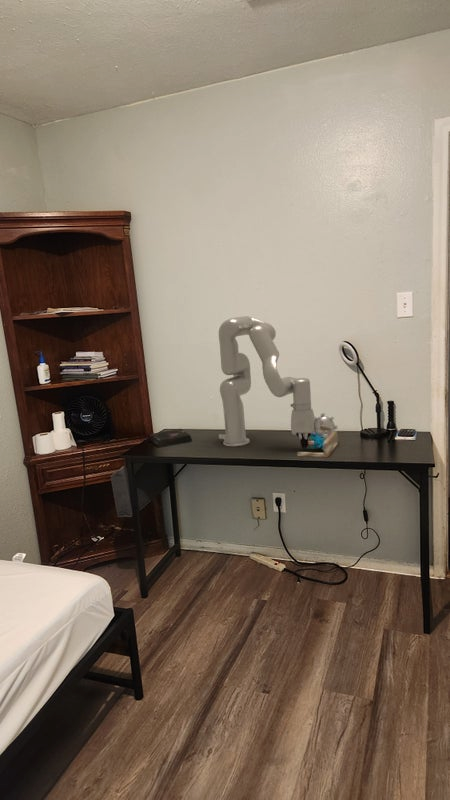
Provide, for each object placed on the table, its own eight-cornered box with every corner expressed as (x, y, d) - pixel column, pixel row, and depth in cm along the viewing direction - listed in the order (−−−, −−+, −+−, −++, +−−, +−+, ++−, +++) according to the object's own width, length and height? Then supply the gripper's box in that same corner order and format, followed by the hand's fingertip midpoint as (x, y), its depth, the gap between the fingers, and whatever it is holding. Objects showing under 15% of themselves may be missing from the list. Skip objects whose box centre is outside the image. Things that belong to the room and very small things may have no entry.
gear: (310, 442, 237) (308, 414, 235) (311, 440, 240) (310, 413, 238) (337, 443, 232) (335, 414, 230) (338, 441, 235) (337, 413, 233)
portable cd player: (192, 442, 257) (191, 434, 257) (159, 448, 252) (158, 440, 251) (182, 435, 273) (181, 428, 272) (151, 441, 267) (150, 433, 266)
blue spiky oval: (323, 450, 218) (308, 432, 221) (314, 459, 221) (300, 441, 224) (335, 447, 226) (320, 429, 230) (326, 455, 229) (312, 438, 233)
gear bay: (297, 456, 219) (296, 442, 218) (308, 443, 237) (308, 430, 236) (327, 457, 213) (326, 443, 212) (337, 443, 231) (336, 431, 230)
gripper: (283, 408, 224) (285, 449, 227) (317, 408, 218) (319, 450, 221) (288, 404, 230) (290, 444, 234) (321, 404, 224) (323, 445, 228)
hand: (304, 447), depth 227 cm, fingers closed
